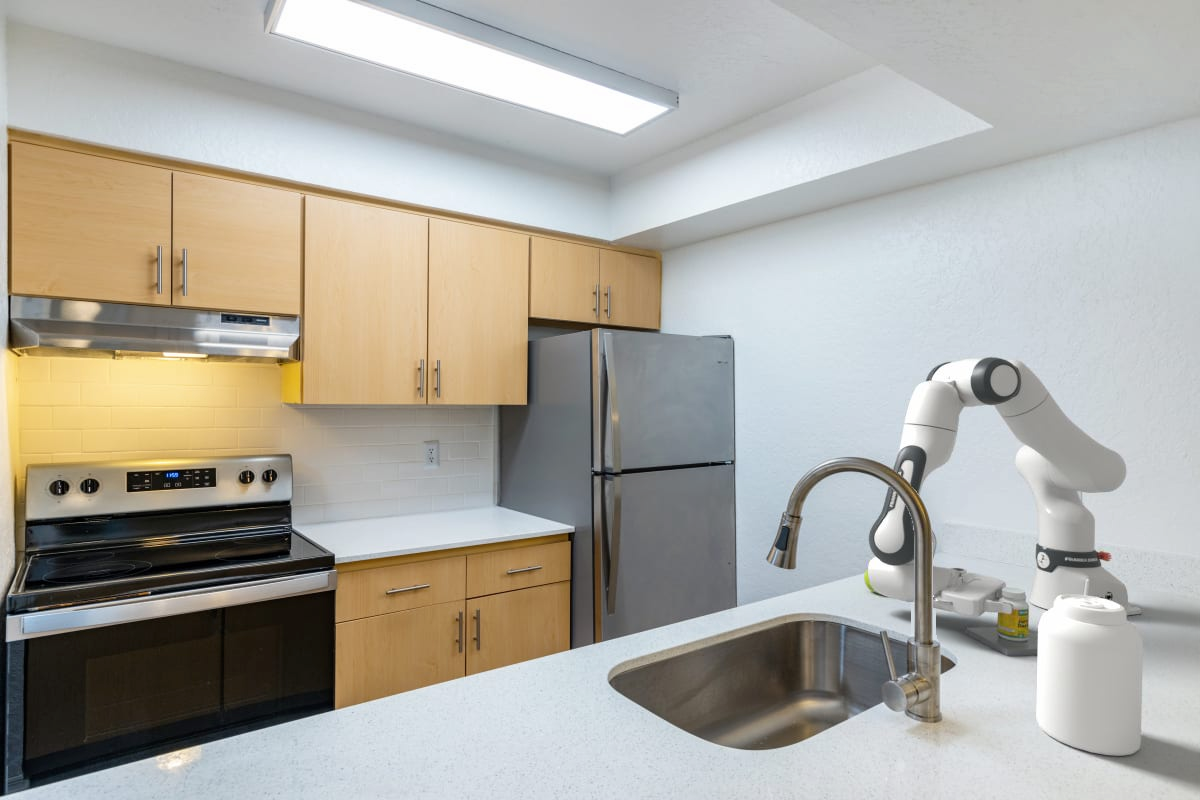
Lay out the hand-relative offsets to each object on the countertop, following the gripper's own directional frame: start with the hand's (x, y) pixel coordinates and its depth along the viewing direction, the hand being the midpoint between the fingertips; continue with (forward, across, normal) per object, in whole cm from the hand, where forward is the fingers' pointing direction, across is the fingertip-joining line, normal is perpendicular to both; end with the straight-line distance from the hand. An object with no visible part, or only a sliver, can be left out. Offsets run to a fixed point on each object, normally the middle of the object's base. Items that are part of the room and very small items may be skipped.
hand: (1019, 604), depth 135 cm
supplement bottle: (-1, 0, +7) cm, 7 cm away
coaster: (-1, 0, +8) cm, 8 cm away
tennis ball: (-34, +14, +8) cm, 38 cm away
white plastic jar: (+17, -34, +8) cm, 39 cm away
